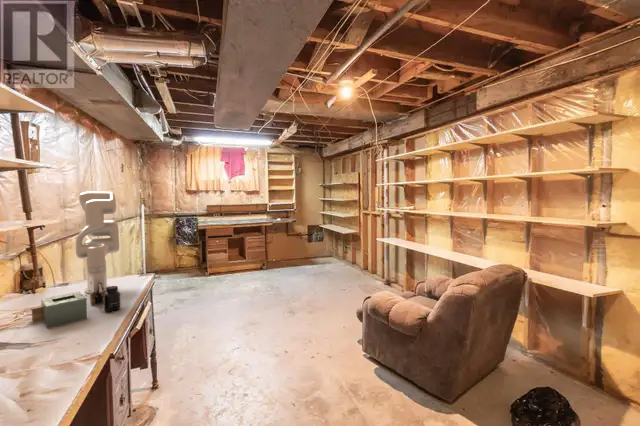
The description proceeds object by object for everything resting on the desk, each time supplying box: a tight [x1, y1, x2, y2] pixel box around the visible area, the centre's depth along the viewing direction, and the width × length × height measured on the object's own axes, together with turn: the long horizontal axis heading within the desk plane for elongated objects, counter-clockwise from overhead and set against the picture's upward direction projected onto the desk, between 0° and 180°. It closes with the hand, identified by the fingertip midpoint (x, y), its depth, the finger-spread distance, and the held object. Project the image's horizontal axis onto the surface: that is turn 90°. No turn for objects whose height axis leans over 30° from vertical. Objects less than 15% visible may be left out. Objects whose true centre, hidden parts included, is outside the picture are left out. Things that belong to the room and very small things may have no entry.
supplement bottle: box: [103, 285, 121, 314], centre depth 151 cm, size 7×7×12 cm
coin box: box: [40, 291, 88, 329], centre depth 140 cm, size 14×14×10 cm
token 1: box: [31, 305, 43, 322], centre depth 140 cm, size 3×6×6 cm, turn 140°
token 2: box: [89, 291, 106, 306], centre depth 161 cm, size 3×6×6 cm, turn 140°
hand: (98, 302), depth 161 cm, fingers closed on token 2, 2 cm apart
